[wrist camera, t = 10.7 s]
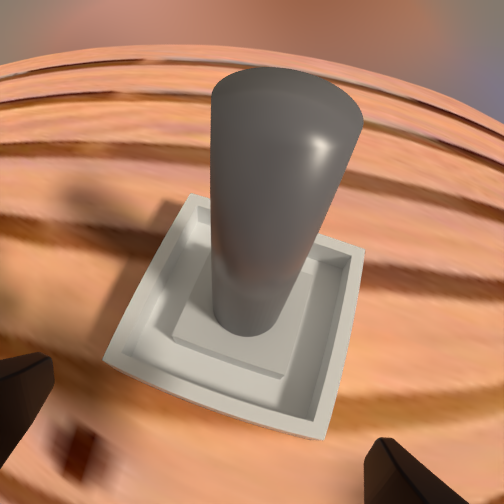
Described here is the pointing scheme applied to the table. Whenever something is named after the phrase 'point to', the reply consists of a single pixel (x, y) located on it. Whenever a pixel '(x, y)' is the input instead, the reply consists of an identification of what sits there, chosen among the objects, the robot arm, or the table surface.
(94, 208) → the table surface
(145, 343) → the tray
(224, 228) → the grey upright post
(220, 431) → the table surface
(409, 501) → the robot arm
